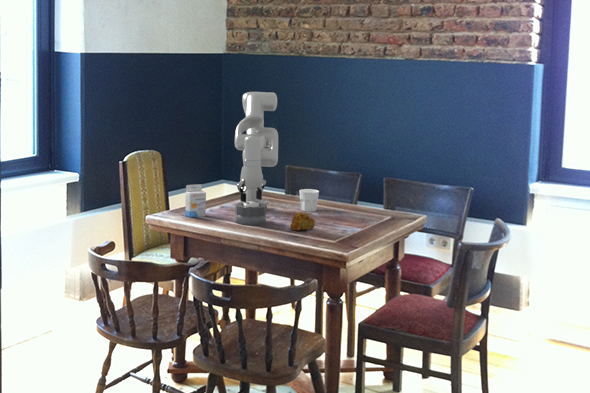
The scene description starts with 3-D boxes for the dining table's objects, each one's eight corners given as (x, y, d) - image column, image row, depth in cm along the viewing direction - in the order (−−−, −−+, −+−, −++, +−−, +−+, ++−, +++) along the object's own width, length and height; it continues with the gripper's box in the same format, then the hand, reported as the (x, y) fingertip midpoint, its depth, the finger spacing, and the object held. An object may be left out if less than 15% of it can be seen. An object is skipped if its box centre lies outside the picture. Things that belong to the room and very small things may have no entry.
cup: (307, 212, 330) (308, 193, 328) (294, 209, 338) (295, 190, 336) (322, 210, 336) (323, 191, 334) (309, 207, 344) (310, 188, 342)
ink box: (189, 217, 308) (189, 186, 306) (185, 215, 312) (185, 185, 310) (206, 216, 313) (206, 185, 310) (201, 214, 317) (201, 184, 314)
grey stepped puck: (251, 217, 314) (252, 200, 313) (272, 222, 305) (272, 205, 303) (229, 221, 304) (229, 204, 303) (249, 226, 295) (250, 209, 293)
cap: (251, 211, 309) (251, 199, 308) (261, 213, 304) (262, 201, 303) (240, 213, 304) (240, 201, 303) (250, 215, 299) (250, 203, 298)
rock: (291, 236, 298) (301, 218, 302) (308, 242, 294) (317, 224, 299) (286, 223, 289) (296, 205, 293) (302, 229, 285) (313, 210, 290)
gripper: (260, 161, 308) (259, 197, 311) (232, 163, 296) (231, 201, 299) (271, 163, 303) (270, 199, 306) (243, 166, 291) (242, 204, 294)
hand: (251, 200), depth 303 cm, fingers open, 9 cm apart
